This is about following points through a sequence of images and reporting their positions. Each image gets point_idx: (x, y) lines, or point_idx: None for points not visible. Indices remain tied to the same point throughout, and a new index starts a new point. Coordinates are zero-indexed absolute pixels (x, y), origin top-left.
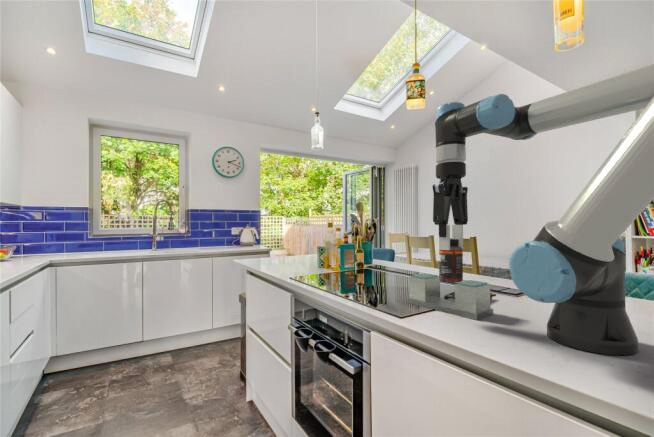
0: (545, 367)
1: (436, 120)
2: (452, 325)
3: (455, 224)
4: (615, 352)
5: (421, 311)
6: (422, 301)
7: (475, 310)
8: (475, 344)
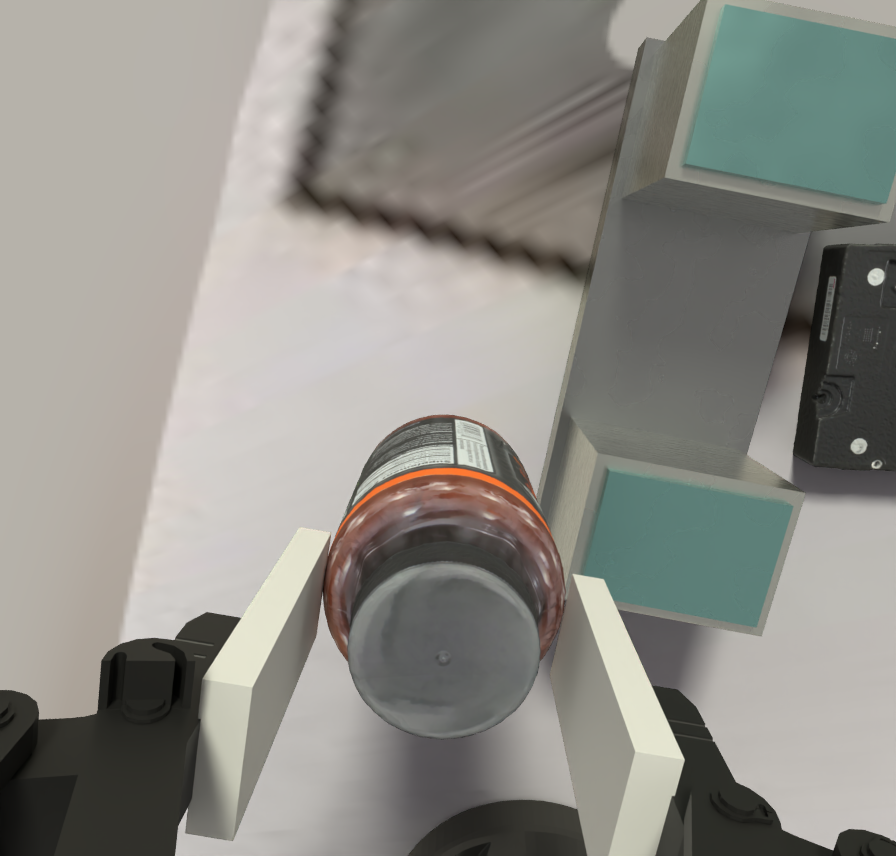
0: None
1: None
2: (363, 467)
3: (711, 785)
4: None
5: (501, 229)
6: (626, 175)
7: None
8: (191, 619)
